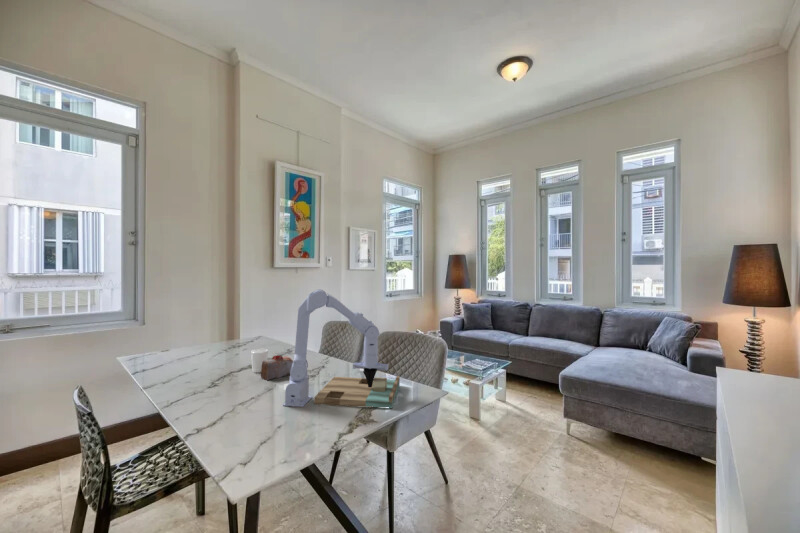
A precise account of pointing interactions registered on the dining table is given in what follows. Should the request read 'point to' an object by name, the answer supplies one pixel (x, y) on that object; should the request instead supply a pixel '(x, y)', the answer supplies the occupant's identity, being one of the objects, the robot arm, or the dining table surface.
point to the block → (379, 384)
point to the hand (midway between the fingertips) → (370, 386)
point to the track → (357, 393)
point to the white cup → (258, 359)
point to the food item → (276, 367)
